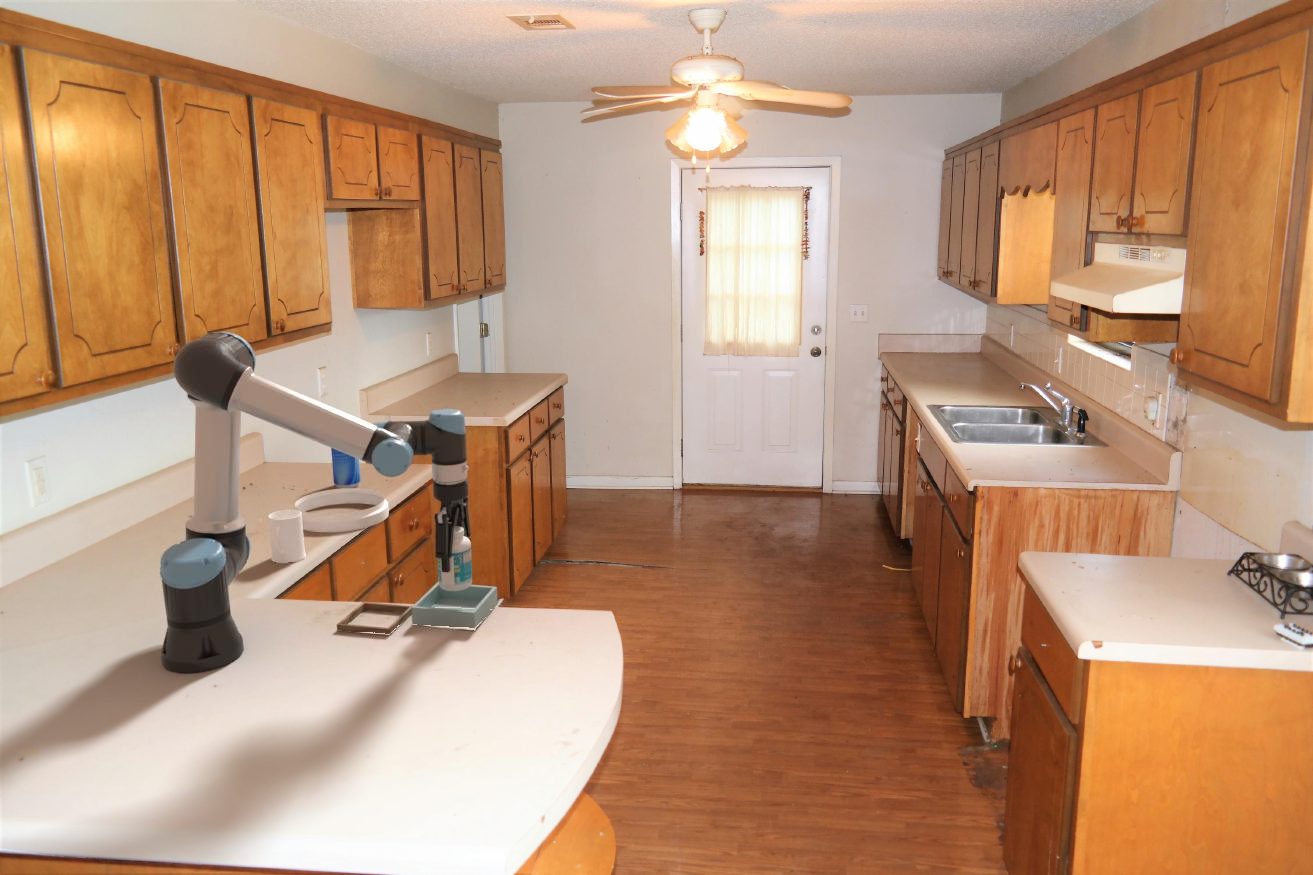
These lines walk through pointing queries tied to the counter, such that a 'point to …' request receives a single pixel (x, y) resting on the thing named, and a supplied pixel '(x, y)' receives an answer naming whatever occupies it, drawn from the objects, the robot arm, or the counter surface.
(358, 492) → the white hollow ring
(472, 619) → the bin
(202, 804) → the counter surface
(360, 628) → the frame
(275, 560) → the mug
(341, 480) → the beer can
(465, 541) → the pill bottle
